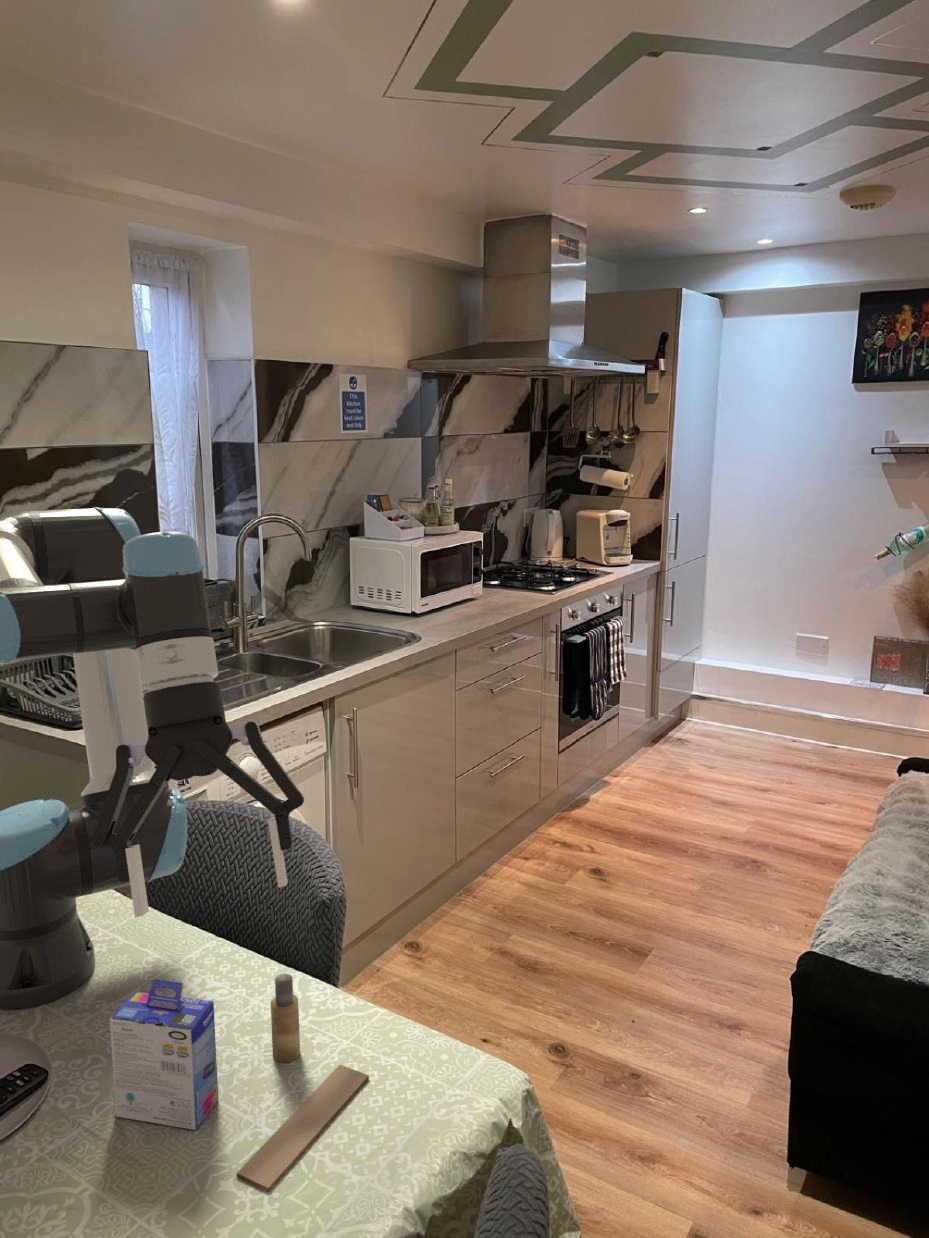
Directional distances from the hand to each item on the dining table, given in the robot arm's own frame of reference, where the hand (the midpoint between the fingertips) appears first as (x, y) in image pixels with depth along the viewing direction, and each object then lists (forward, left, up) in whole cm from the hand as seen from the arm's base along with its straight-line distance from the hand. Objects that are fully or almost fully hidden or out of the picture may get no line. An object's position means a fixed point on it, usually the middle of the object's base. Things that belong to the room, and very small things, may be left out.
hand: (213, 899), depth 91 cm
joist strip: (+6, +6, -28) cm, 29 cm away
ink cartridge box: (-9, +1, -28) cm, 30 cm away
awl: (-3, +14, -28) cm, 32 cm away
